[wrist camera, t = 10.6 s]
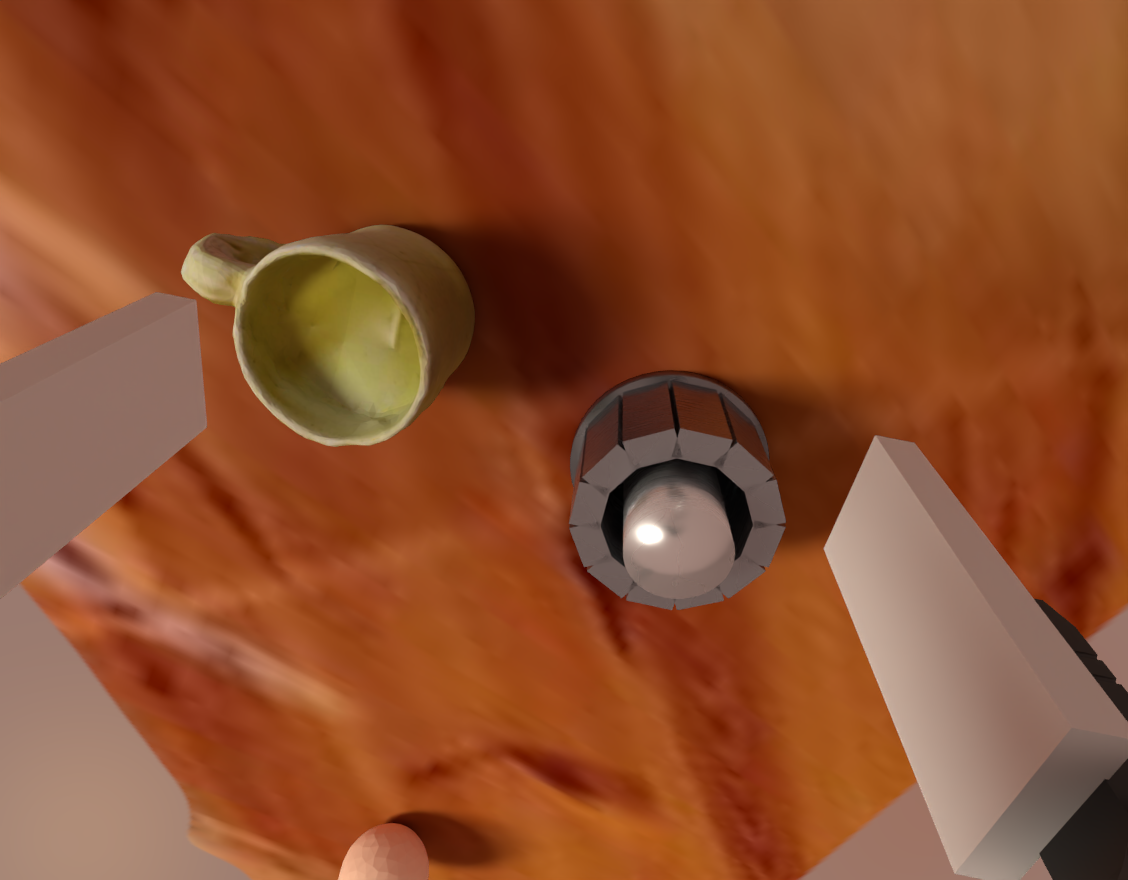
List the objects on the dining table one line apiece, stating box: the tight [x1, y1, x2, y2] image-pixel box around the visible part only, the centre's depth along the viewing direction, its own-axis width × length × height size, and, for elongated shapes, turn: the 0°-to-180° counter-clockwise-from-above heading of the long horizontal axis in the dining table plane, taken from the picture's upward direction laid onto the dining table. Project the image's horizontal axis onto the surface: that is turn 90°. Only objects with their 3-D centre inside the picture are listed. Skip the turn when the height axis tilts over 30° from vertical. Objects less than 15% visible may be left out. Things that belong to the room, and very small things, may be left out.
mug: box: [181, 225, 475, 447], centre depth 33 cm, size 12×10×10 cm
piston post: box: [570, 371, 769, 599], centre depth 35 cm, size 11×11×9 cm
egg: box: [338, 823, 429, 880], centre depth 52 cm, size 7×7×8 cm
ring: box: [569, 380, 786, 610], centre depth 36 cm, size 10×10×6 cm
